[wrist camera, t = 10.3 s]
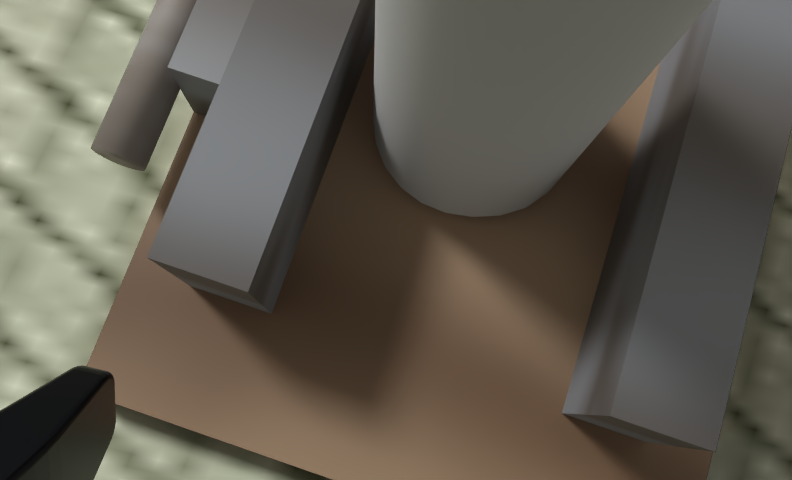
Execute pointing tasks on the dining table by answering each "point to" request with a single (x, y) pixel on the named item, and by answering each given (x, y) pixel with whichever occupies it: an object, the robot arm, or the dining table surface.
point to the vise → (439, 259)
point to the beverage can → (507, 90)
